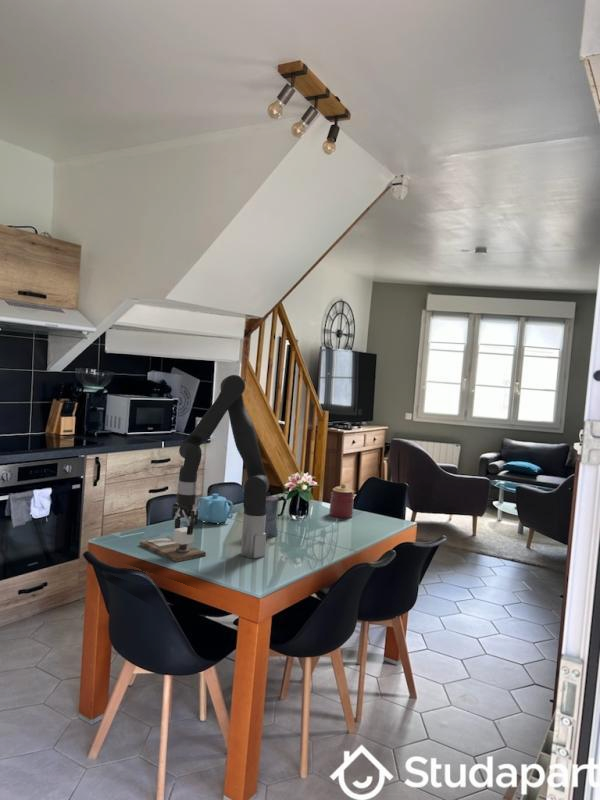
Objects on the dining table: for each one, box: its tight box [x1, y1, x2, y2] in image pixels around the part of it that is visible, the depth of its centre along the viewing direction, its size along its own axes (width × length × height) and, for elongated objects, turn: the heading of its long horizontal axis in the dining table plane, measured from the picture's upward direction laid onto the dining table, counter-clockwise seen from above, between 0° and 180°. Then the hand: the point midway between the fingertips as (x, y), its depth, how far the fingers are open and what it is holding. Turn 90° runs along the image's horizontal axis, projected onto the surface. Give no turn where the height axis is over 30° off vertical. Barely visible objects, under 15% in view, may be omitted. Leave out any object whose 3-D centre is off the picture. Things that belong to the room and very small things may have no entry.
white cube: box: [173, 526, 195, 545], centre depth 243 cm, size 6×6×5 cm
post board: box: [139, 536, 207, 563], centre depth 248 cm, size 26×14×10 cm, turn 47°
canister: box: [328, 483, 355, 519], centre depth 333 cm, size 13×13×18 cm
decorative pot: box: [195, 493, 234, 523], centre depth 299 cm, size 16×16×14 cm
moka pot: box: [265, 491, 287, 538], centre depth 282 cm, size 10×15×20 cm, turn 117°
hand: (183, 531), depth 244 cm, fingers open, 8 cm apart
